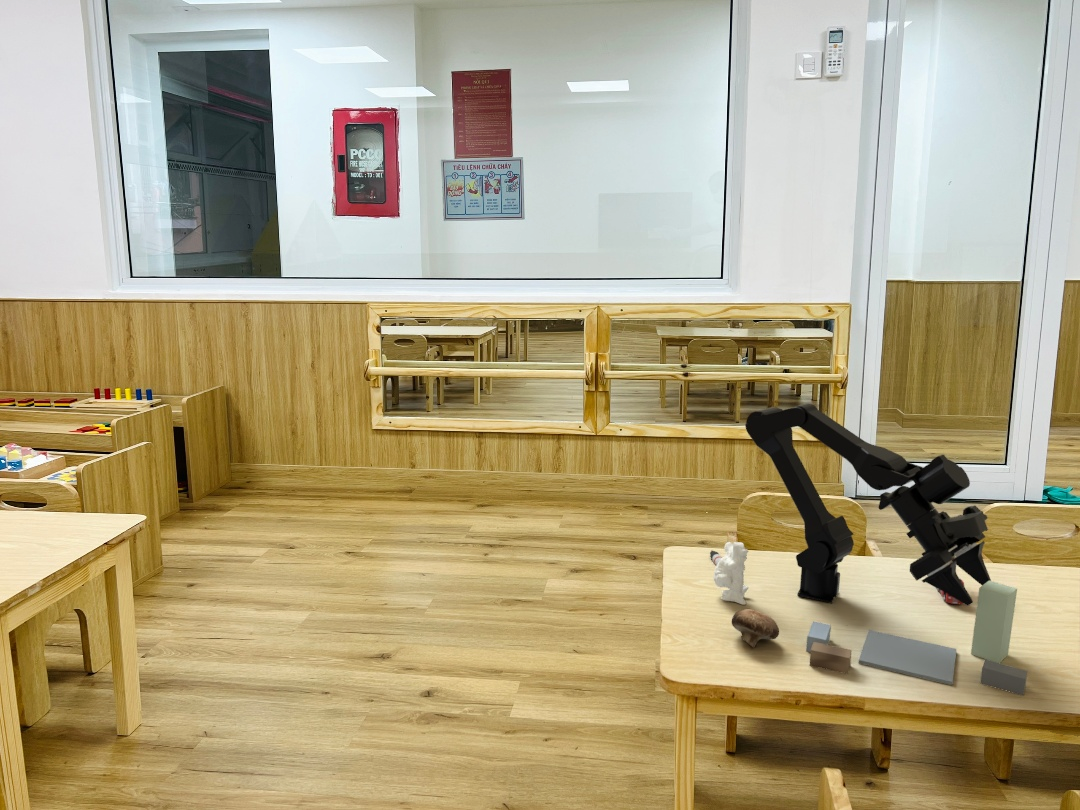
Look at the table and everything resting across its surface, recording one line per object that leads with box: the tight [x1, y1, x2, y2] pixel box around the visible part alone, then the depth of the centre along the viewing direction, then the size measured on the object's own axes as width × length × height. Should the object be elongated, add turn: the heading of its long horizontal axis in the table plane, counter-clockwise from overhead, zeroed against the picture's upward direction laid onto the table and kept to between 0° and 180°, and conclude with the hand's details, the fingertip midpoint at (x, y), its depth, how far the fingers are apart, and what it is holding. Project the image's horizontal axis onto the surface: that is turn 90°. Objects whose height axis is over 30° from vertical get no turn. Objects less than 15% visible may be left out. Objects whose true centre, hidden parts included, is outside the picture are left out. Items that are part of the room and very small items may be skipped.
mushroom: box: [731, 608, 780, 648], centre depth 146 cm, size 8×8×6 cm
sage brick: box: [970, 580, 1018, 664], centre depth 142 cm, size 4×4×12 cm
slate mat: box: [858, 629, 957, 686], centre depth 142 cm, size 14×12×1 cm
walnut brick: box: [809, 642, 853, 675], centre depth 139 cm, size 6×3×3 cm, turn 65°
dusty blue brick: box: [805, 620, 832, 653], centre depth 146 cm, size 6×3×3 cm, turn 154°
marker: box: [709, 549, 723, 567], centre depth 177 cm, size 15×2×2 cm, turn 6°
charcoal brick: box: [979, 659, 1029, 696], centre depth 134 cm, size 6×3×3 cm, turn 56°
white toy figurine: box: [713, 541, 749, 606], centre depth 162 cm, size 8×7×12 cm
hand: (980, 595), depth 143 cm, fingers open, 9 cm apart
